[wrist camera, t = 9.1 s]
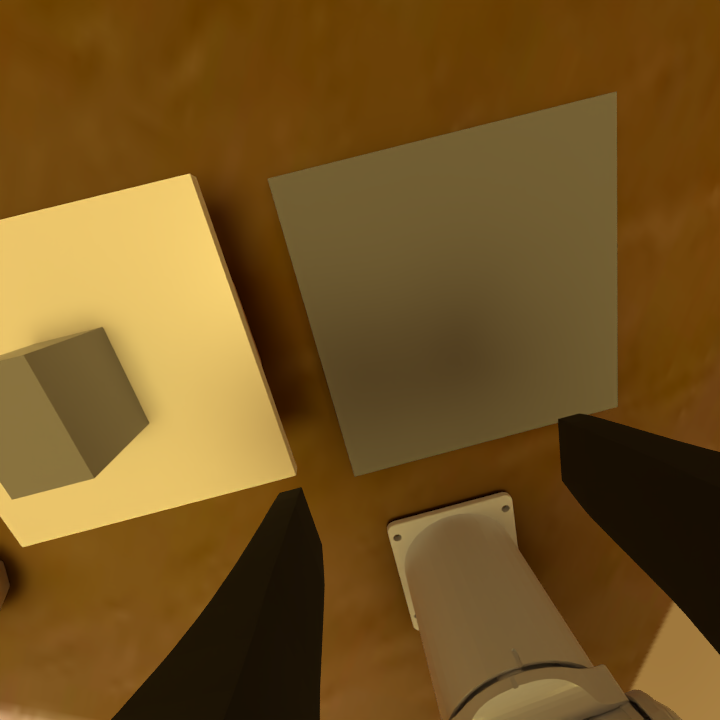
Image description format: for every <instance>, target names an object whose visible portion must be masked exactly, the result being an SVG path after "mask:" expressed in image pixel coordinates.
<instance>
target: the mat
mask: <svg viewBox="0 0 720 720" xmlns="http://www.w3.org/2000/svg"><path fill="white" fill-rule="evenodd" d="M268 182H269V185H270V189H271V192H272V196H273V199H274V203H275V206H276V209H277V213H278V216H279V220H280V223H281V226H282V230H283V233H284V237H285V240H286V244H287V247H288V250H289V254H290V257H291V261H292V264H293V267H294V271H295V274H296V278H297V281H298V285H299V288H300V291H301V295H302V298H303V302H304V305H305V308H306V312H307V315H308V319H309V322H310V326H311V329H312V332H313V336H314V339H315V343H316V346H317V349H318V353H319V356H320V360H321V363H322V367H323V370H324V373H325V377H326V380H327V384H328V387H329V390H330V394H331V397H332V401H333V404H334V408H335V411H336V414H337V418H338V421H339V425H340V428H341V431H342V435H343V438H344V442H345V445H346V449H347V452H348V455H349V459H350V462H351V466H352V469H353V472H354V476H359V475H363V474H367V473H370V472H374V471H378V470H382V469H385V468H389V467H393V466H397V465H400V464H404V463H408V462H412V461H415V460H419V459H423V458H427V457H430V456H434V455H438V454H442V453H445V452H449V451H453V450H457V449H460V448H464V447H468V446H472V445H476V444H479V443H483V442H487V441H491V440H494V439H498V438H502V437H506V436H509V435H513V434H517V433H521V432H524V431H528V430H532V429H536V428H539V427H543V426H547V425H551V424H554V423H558V419H560V418H564V417H567V416H571V415H575V414H579V413H581V414H585V415H588V414H592V413H596V412H600V411H603V410H607V409H611V408H615V407H618V378H617V92H613V93H609V94H605V95H601V96H597V97H593V98H589V99H585V100H581V101H577V102H573V103H569V104H565V105H561V106H557V107H553V108H549V109H545V110H541V111H537V112H533V113H529V114H525V115H521V116H517V117H513V118H509V119H505V120H501V121H497V122H493V123H489V124H485V125H481V126H477V127H473V128H469V129H465V130H461V131H457V132H453V133H449V134H445V135H441V136H437V137H433V138H429V139H425V140H421V141H417V142H413V143H409V144H405V145H401V146H397V147H393V148H389V149H385V150H381V151H377V152H373V153H369V154H365V155H361V156H357V157H353V158H349V159H345V160H341V161H337V162H333V163H329V164H325V165H321V166H317V167H313V168H309V169H305V170H301V171H297V172H293V173H289V174H285V175H281V176H277V177H273V178H269V179H268Z"/></svg>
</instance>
